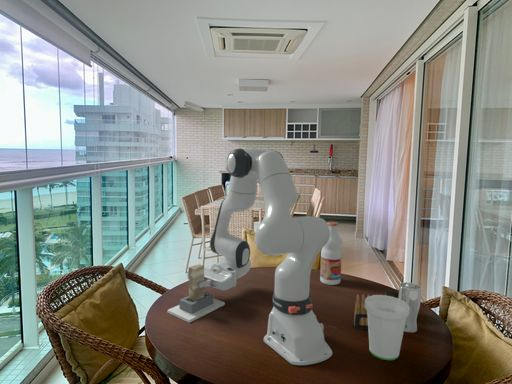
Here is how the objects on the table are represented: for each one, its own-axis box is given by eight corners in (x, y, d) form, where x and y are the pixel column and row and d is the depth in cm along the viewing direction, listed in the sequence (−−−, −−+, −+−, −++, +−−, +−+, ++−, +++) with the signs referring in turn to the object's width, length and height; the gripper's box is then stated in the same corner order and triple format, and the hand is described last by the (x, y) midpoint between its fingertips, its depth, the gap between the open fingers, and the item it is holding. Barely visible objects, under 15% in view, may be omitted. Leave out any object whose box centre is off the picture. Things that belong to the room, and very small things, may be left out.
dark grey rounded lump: (379, 310, 128) (380, 289, 127) (395, 307, 130) (396, 287, 129) (392, 319, 121) (393, 298, 120) (409, 316, 123) (410, 295, 122)
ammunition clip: (354, 328, 114) (355, 294, 113) (353, 325, 116) (354, 292, 115) (386, 329, 114) (388, 295, 112) (384, 326, 116) (386, 293, 114)
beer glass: (405, 334, 111) (408, 291, 109) (391, 324, 117) (394, 283, 116) (423, 331, 113) (426, 289, 111) (408, 321, 119) (411, 281, 117)
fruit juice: (325, 276, 163) (327, 219, 160) (343, 281, 157) (346, 222, 154) (316, 282, 155) (318, 222, 152) (335, 287, 150) (337, 225, 146)
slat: (204, 303, 128) (204, 265, 126) (194, 308, 124) (194, 269, 122) (198, 301, 130) (198, 264, 128) (189, 306, 126) (188, 267, 124)
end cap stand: (224, 304, 130) (224, 293, 130) (189, 322, 116) (189, 310, 116) (203, 296, 138) (202, 286, 137) (167, 312, 123) (167, 301, 123)
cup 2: (411, 367, 94) (415, 315, 92) (365, 362, 96) (368, 311, 94) (400, 342, 106) (403, 296, 104) (359, 338, 108) (361, 293, 106)
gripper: (202, 261, 142) (176, 269, 131) (239, 271, 130) (214, 282, 119) (202, 275, 143) (176, 285, 132) (239, 287, 130) (214, 299, 119)
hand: (194, 284), depth 125 cm, fingers closed on slat, 3 cm apart
